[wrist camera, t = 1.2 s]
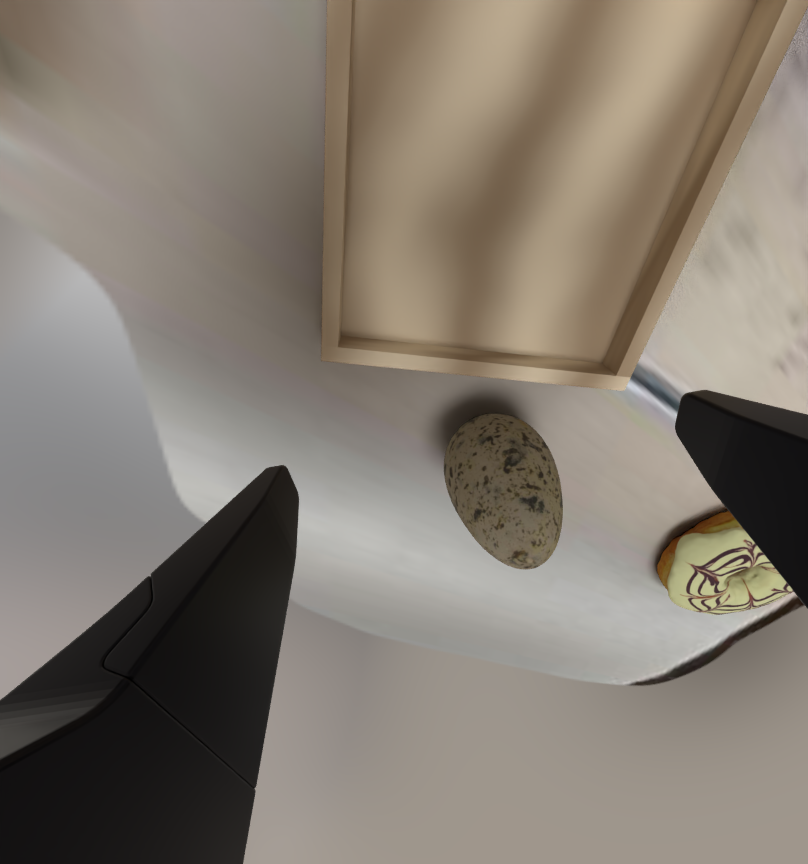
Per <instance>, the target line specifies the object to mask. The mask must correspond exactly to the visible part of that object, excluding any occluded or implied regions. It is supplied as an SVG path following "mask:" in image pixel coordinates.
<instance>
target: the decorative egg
mask: <svg viewBox="0 0 808 864" xmlns="http://www.w3.org/2000/svg"><path fill="white" fill-rule="evenodd" d="M444 476H445V482H446V486H447V490H448V493H449V496H450V498H451V501H452V503H453V505H454V507H455V509H456V511H457V513H458V515H459V517H460V518H461V520H462V522H463V523H464V525H465V526H466V527H467V529H468V530H469V532H470V533H471V534H472V536H473V537H474V538H475V540H476V541H477V542H478V543H479V544H480V545H481V546H482V547H483V548H484V549H485V550H486V551H487V552H488V553H489V554H491V555H492V556H493V557H495V558H496V559H497V560H499V561H501V562H502V563H504V564H506V565H508V566H511V567H514V568H518V569H532V568H536V567H538V566H540V565H542V564H543V563H545V562H546V561H547V560H548V559H549V557H550V556H551V555H552V553H553V552H554V550H555V548H556V546H557V543H558V540H559V536H560V532H561V527H562V516H563V505H562V493H561V485H560V479H559V475H558V471H557V468H556V465H555V462H554V459H553V456H552V454H551V452H550V450H549V448H548V446H547V445H546V443H545V442H544V440H543V439H542V437H541V436H540V435H539V434H538V433H537V432H536V431H535V430H534V429H533V428H532V427H531V426H529V425H528V424H527V423H525V422H524V421H522V420H520V419H518V418H516V417H513V416H510V415H505V414H498V413H492V414H485V415H480V416H477V417H475V418H473V419H471V420H469V421H468V422H466V423H465V424H463V425H462V426H461V427H460V428H459V429H458V430H457V431H456V433H455V434H454V435H453V437H452V439H451V440H450V442H449V445H448V447H447V450H446V454H445V459H444Z"/></svg>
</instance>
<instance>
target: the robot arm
mask: <svg viewBox="0 0 808 864" xmlns="http://www.w3.org/2000/svg"><path fill="white" fill-rule="evenodd" d="M675 430H676V433H677V436H678V437H679V439H680V440H681V442H682V444H683V445H684V447H685V448H686V450H687V451H688V453H689V455H690V456H691V458H692V459H693V461H694V463H695V464H696V466H697V467H698V469H699V470H700V472H701V474H702V475H703V477H704V478H705V480H706V481H707V483H708V484H709V486H710V487H711V489H712V490H713V491H714V493H715V494H716V495H717V497H718V498H719V499H720V500H721V502H722V503H723V504H724V505H725V507H726V508H727V509H728V510H729V512H730V513H731V514H732V515H733V517H734V518H735V519H736V520H737V522H738V523H739V524H740V525H741V527H742V528H743V529H744V530H745V531H746V533H747V534H748V535H749V536H750V538H751V539H752V540H753V541H754V543H755V544H756V545H757V546H758V548H759V549H760V550H761V551H762V553H763V554H764V555H765V556H766V558H767V559H768V560H769V561H770V563H771V564H772V565H773V566H774V568H775V569H776V570H777V571H778V572H779V574H780V575H781V576H782V577H783V579H784V580H785V581H786V582H787V584H788V585H789V586H790V587H791V589H792V590H793V591H794V592H795V594H796V595H797V596H798V597H799V599H800V600H801V601H802V602H803V604H804V605H805V606H806V607H807V608H808V415H807V414H803V413H799V412H794V411H790V410H786V409H782V408H778V407H774V406H770V405H766V404H762V403H758V402H753V401H749V400H745V399H741V398H737V397H733V396H729V395H725V394H721V393H717V392H713V391H708V390H700V391H695V392H689V393H686V394H684V395H683V397H682V398H681V401H680V405H679V410H678V414H677V419H676V423H675ZM298 509H299V496H298V491H297V489H296V487H295V484H294V482H293V480H292V478H291V475H290V473H289V471H288V469H287V468H286V466H284V465H280V466H274V467H269V468H266V469H265V470H264V471H263V472H262V473H261V474H260V475H259V476H257V477H256V478H255V479H254V480H253V481H252V482H251V483H250V484H249V485H248V486H247V487H245V488H244V489H243V490H242V491H241V492H240V493H239V494H238V495H237V496H236V497H234V498H233V499H232V500H231V501H230V502H229V503H228V504H227V505H226V506H225V507H223V508H222V509H221V510H220V511H219V512H218V513H217V514H216V515H215V516H214V517H213V518H211V519H210V520H209V521H208V522H207V523H206V524H205V525H204V526H203V527H202V528H201V529H200V530H198V531H197V532H196V533H195V534H194V535H193V536H192V537H191V538H190V539H188V540H187V541H186V542H185V543H184V544H183V545H182V546H181V547H180V548H178V549H177V550H176V551H175V552H174V553H173V554H172V555H171V556H170V557H169V558H168V559H166V560H165V561H164V562H163V563H162V564H161V565H160V566H159V567H158V568H157V569H155V570H154V571H153V572H152V573H151V577H150V576H148V577H147V578H145V579H144V581H142V582H141V583H140V584H139V585H138V586H137V587H136V588H135V589H133V590H132V591H131V592H130V593H129V594H128V595H127V596H126V597H125V598H123V599H122V600H121V601H120V602H119V603H118V604H117V605H115V606H114V607H113V608H112V609H111V610H110V611H109V612H108V613H106V614H105V615H104V616H103V617H102V618H100V619H99V620H98V621H97V622H96V623H95V624H93V625H92V626H91V627H89V628H88V629H87V630H86V631H85V632H84V633H82V634H81V635H80V636H79V637H77V638H76V639H75V640H74V641H72V642H71V643H70V644H69V645H68V646H66V647H65V648H64V649H63V650H61V651H60V652H59V653H58V654H57V655H55V656H54V657H53V658H52V659H51V660H49V661H48V662H47V663H46V664H44V665H43V666H42V667H41V668H39V669H38V670H37V671H36V672H34V673H33V674H32V675H31V676H30V677H28V678H27V679H26V680H25V681H23V682H22V683H21V684H20V685H18V686H17V687H16V688H15V689H14V690H12V691H11V692H10V693H9V694H8V695H6V696H5V697H4V698H2V699H1V700H0V864H243V860H244V855H245V848H246V843H247V837H248V831H249V826H250V820H251V814H252V809H253V803H254V797H255V789H254V788H255V787H256V784H257V779H258V773H259V767H260V761H261V755H262V750H263V744H264V738H265V733H266V727H267V721H268V716H269V710H270V703H271V698H272V692H273V687H274V681H275V675H276V669H277V664H278V658H279V652H280V647H281V641H282V635H283V630H284V624H285V618H286V611H287V607H288V601H289V595H290V589H291V584H292V578H293V572H294V566H295V559H296V548H297V528H298Z"/></svg>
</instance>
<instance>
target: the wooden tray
mask: <svg viewBox="0 0 808 864" xmlns="http://www.w3.org/2000/svg"><path fill="white" fill-rule="evenodd" d="M807 7H808V0H327V36H326V97H325V157H324V218H323V278H322V338H321V361H327V362H337V363H347V364H357V365H367V366H377V367H388V368H398V369H408V370H418V371H428V372H438V373H448V374H458V375H468V376H479V377H489V378H499V379H509V380H519V381H529V382H539V383H549V384H559V385H569V386H580V387H590V388H600V389H610V390H620V391H624V390H625V388H626V386H627V384H628V381H629V379H630V377H631V375H632V373H633V371H634V369H635V367H636V365H637V363H638V361H639V358H640V356H641V354H642V352H643V350H644V348H645V346H646V344H647V342H648V340H649V338H650V335H651V333H652V331H653V329H654V327H655V325H656V323H657V321H658V319H659V317H660V315H661V313H662V310H663V308H664V306H665V304H666V302H667V300H668V298H669V296H670V294H671V292H672V290H673V287H674V285H675V283H676V281H677V279H678V277H679V275H680V273H681V271H682V269H683V267H684V264H685V262H686V260H687V258H688V256H689V254H690V252H691V250H692V248H693V246H694V244H695V241H696V239H697V237H698V235H699V233H700V231H701V229H702V227H703V225H704V223H705V221H706V218H707V216H708V214H709V212H710V210H711V208H712V206H713V204H714V202H715V200H716V198H717V195H718V193H719V191H720V189H721V187H722V185H723V183H724V181H725V179H726V177H727V175H728V172H729V170H730V168H731V166H732V164H733V162H734V160H735V158H736V156H737V154H738V152H739V149H740V147H741V145H742V143H743V141H744V139H745V137H746V135H747V133H748V131H749V129H750V126H751V124H752V122H753V120H754V118H755V116H756V114H757V112H758V110H759V108H760V106H761V103H762V101H763V99H764V97H765V95H766V93H767V91H768V89H769V87H770V85H771V83H772V80H773V78H774V76H775V74H776V72H777V70H778V68H779V66H780V64H781V62H782V60H783V57H784V55H785V53H786V51H787V49H788V47H789V45H790V43H791V41H792V39H793V37H794V34H795V32H796V30H797V28H798V26H799V24H800V22H801V20H802V18H803V16H804V14H805V12H806V9H807Z"/></svg>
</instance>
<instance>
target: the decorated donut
mask: <svg viewBox="0 0 808 864" xmlns="http://www.w3.org/2000/svg"><path fill="white" fill-rule="evenodd" d="M657 567H658V569H657V572H658V575H659V578H660V580H661V582H662V583H663V585H664V586H665V588H666V589H667V590H668V594H669V597H670V599H671V600H672V602H673V603H675V604H676V605H678V606H680V607H682V608H685V609H688V610H693V611H696V612H703V613H708V614H715V615H719V614H726V613H732V612H740V611H745V610H750V609H755V608H758V607H761V606H764V605H767V604H770V603H772V602H774V601H776V600H778V599H780V598H782V597H784V596H785V595H787V594H789V593H792V592H794V591H793V590H792V589H791V587H790V586H789V585H788V584H787V582H786V581H785V580H784V579H783V577H782V576H781V575H780V574H779V572H778V571H777V570H776V569H775V568H774V566H773V565H772V564H771V563H770V561H769V560H768V559H767V558H766V556H765V555H764V554H763V553H762V551H761V550H760V549H759V548H758V546H757V545H756V544H755V543H754V541H753V540H752V539H751V538H750V536H749V535H748V534H747V533H746V531H745V530H744V529H743V528H742V527H741V525H740V524H739V523H738V522H737V520H736V519H735V518H734V517H733V515H732V514H731V513H730V512H729V511H727V512H724V513H718V514H716V515H715V516H712V517H710V518H709V519H707V520H704V521H702V522H700V523H698V524H697V525H696V526H695V527H694V528H691V529H690V530H688V531H686V532H685V533H684V534H683V535H682V536H680V537H676V538H674V539H673V540H672V541H671V542H670V545H669V546H668V547H667V548H666V549H665V550H664V552H663V553H662V556H661V559H660V561H659V563H658V565H657Z"/></svg>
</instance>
